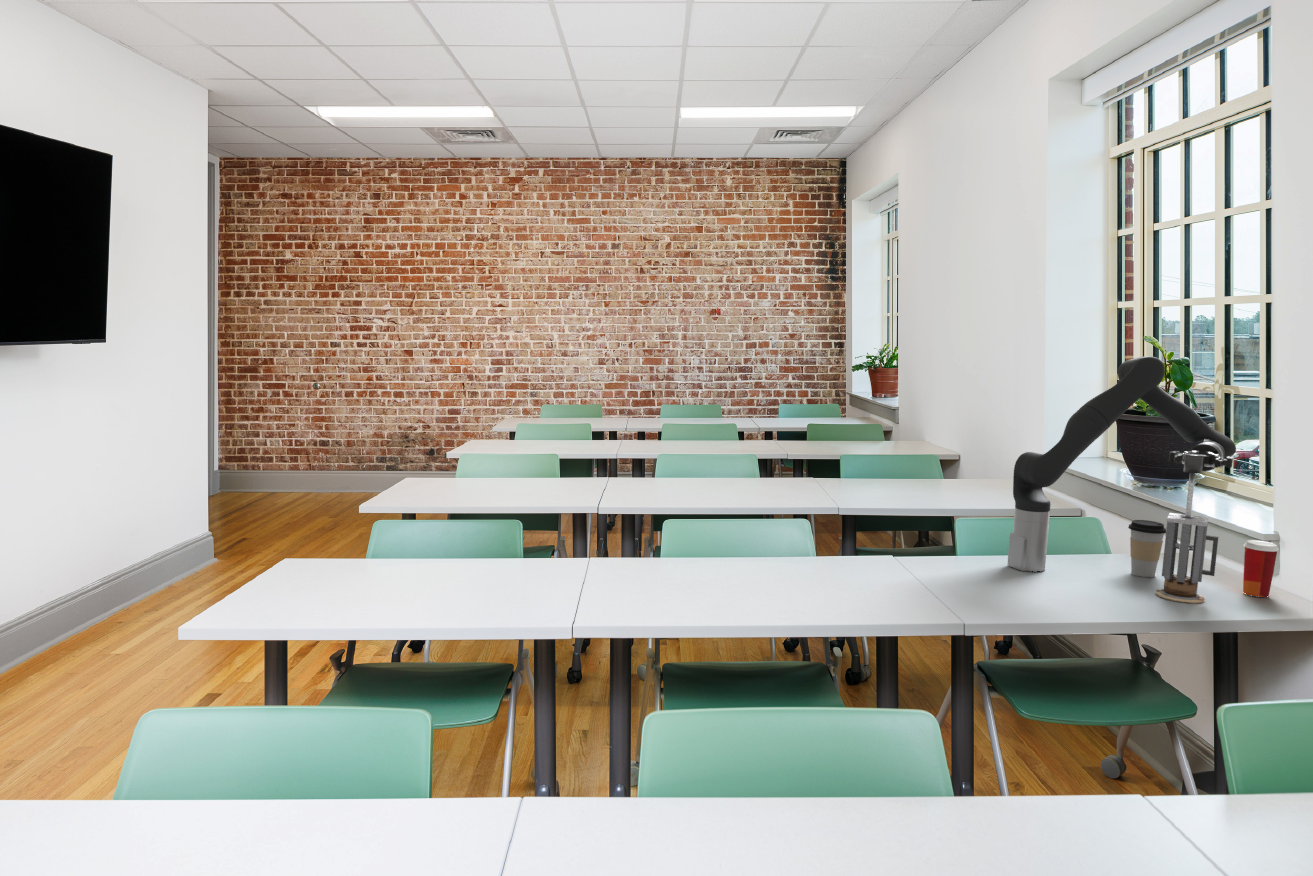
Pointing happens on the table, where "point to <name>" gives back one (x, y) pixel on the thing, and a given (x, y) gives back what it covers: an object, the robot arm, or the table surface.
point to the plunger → (1191, 484)
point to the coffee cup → (1145, 546)
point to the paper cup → (1258, 567)
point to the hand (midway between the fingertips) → (1197, 461)
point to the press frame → (1185, 559)
